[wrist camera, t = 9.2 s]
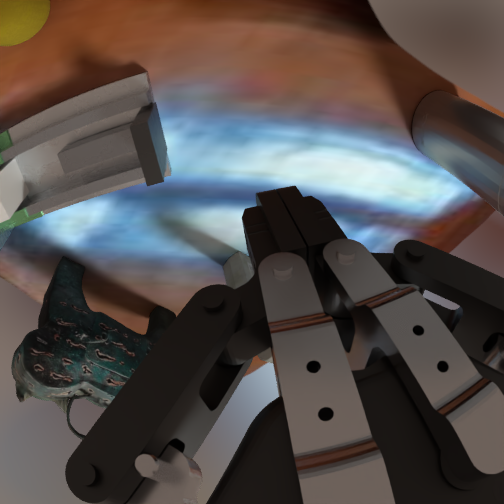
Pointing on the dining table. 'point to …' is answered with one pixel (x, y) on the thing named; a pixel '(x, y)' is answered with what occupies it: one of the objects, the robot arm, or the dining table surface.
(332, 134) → the dining table surface
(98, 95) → the grey open box
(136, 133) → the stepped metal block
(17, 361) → the green animal figurine
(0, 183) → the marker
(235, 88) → the dining table surface
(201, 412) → the robot arm
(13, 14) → the lemon
